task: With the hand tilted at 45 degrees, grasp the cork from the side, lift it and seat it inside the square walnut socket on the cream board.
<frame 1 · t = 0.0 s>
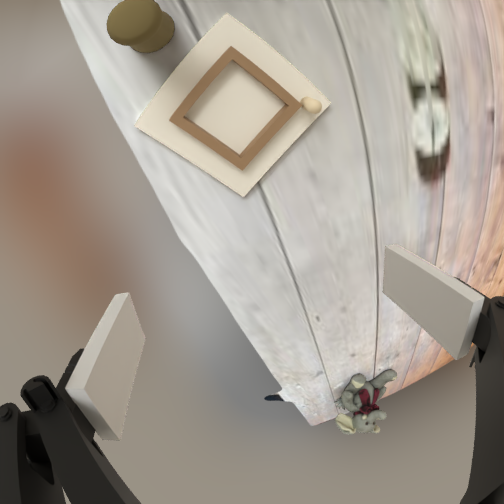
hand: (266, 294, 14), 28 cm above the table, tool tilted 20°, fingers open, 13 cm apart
plush elephant: (355, 386, 97), on the table
seat board: (234, 106, 33), on the table
cork: (150, 31, 25), on the table
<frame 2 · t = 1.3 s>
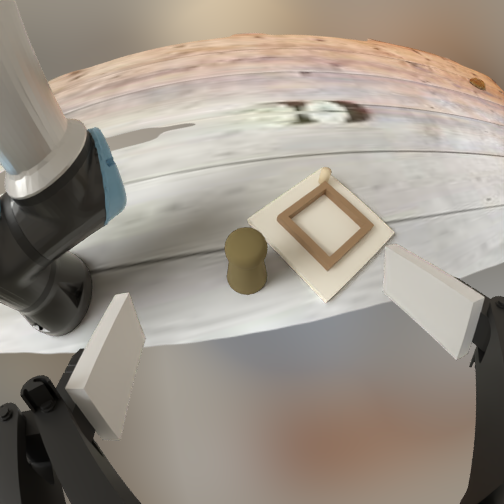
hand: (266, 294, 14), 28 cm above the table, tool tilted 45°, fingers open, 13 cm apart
pastry: (476, 86, 83), on the table
seat board: (324, 228, 47), on the table
cork: (246, 275, 44), on the table
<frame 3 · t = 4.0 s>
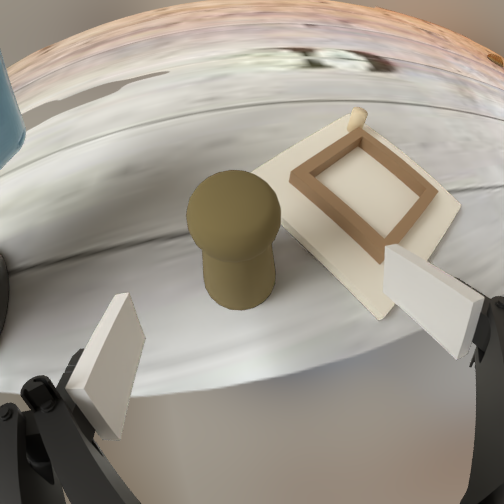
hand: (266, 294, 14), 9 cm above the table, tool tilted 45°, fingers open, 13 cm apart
pastry: (494, 62, 64), on the table
seat board: (364, 197, 28), on the table
cork: (239, 276, 24), on the table
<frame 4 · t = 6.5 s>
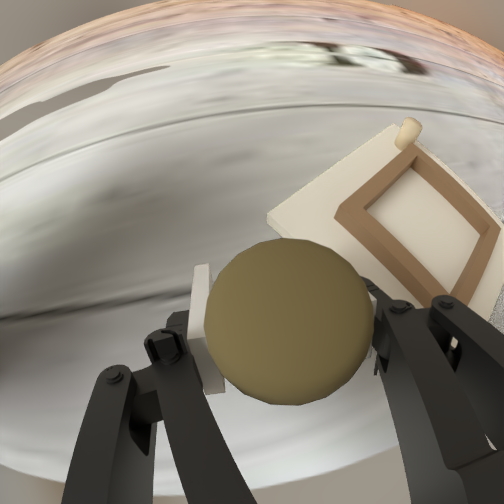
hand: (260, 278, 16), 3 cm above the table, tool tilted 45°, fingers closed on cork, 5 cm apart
seat board: (421, 235, 21), on the table
cork: (270, 352, 17), on the table, touching gripper
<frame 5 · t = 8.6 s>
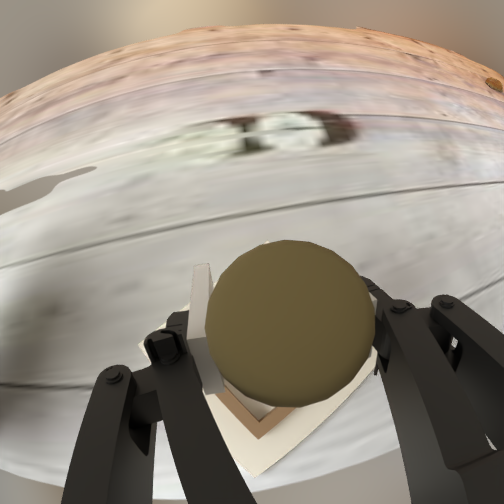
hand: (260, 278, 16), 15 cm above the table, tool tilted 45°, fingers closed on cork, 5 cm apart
pastry: (492, 87, 64), on the table
seat board: (261, 358, 28), on the table
cork: (270, 353, 17), point 11 cm above the table, touching gripper
when the fingers open (6 cm above the table, at t = 11.0 s): cork drops 1 cm, resting on seat board.
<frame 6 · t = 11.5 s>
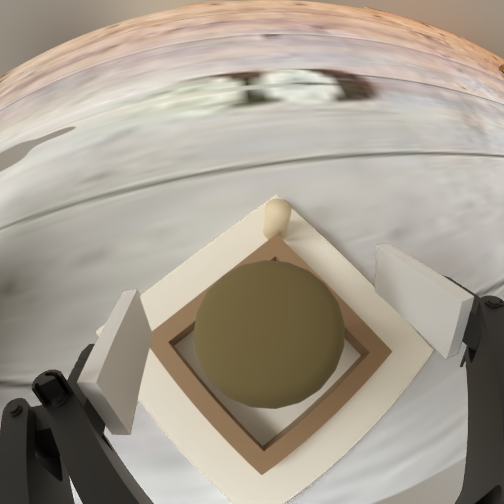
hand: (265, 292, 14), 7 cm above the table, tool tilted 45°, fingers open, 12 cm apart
seat board: (268, 355, 19), on the table
cork: (260, 357, 18), point 1 cm above the table, touching seat board
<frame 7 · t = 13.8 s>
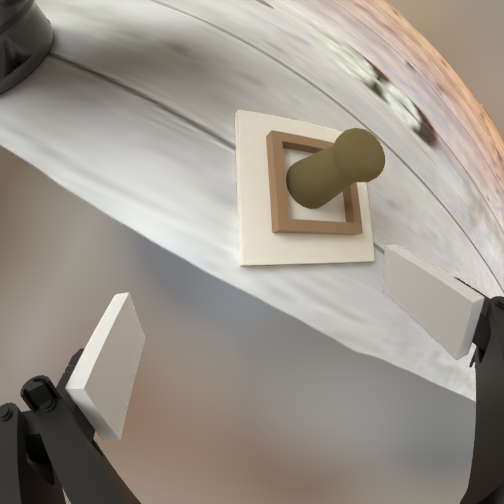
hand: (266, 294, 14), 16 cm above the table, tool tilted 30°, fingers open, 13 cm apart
seat board: (307, 189, 34), on the table
cork: (307, 184, 33), point 1 cm above the table, touching seat board
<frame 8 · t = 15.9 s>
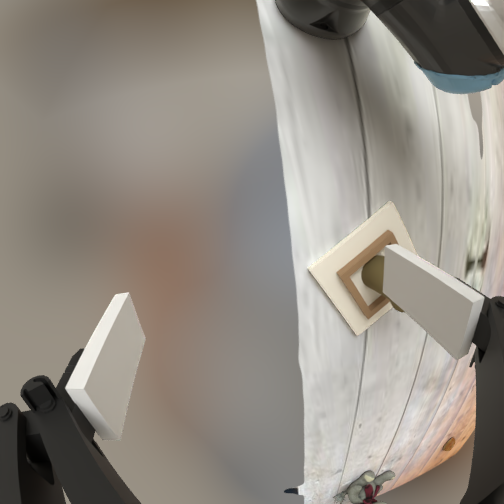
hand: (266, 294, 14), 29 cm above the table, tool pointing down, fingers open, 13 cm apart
pastry: (447, 442, 89), on the table
plush elephant: (357, 483, 83), on the table
seat board: (373, 271, 48), on the table
cork: (375, 271, 47), point 1 cm above the table, touching seat board
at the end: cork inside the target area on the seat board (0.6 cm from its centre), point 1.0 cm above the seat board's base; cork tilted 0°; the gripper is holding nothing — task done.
